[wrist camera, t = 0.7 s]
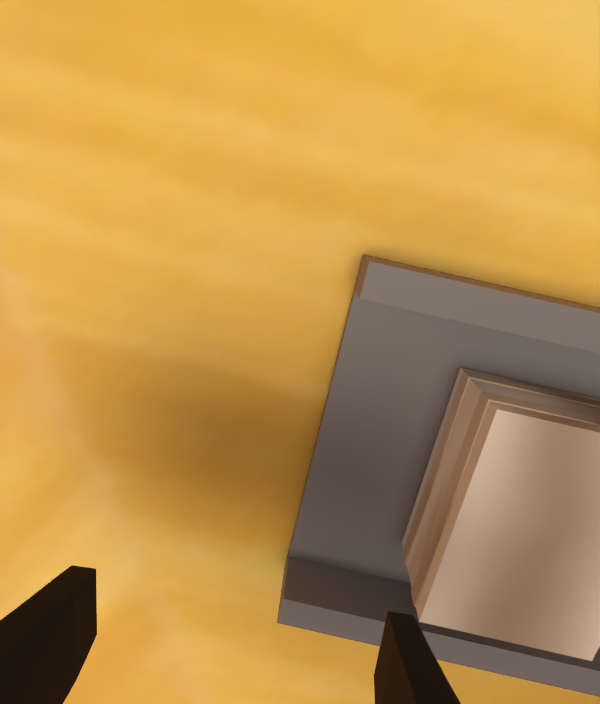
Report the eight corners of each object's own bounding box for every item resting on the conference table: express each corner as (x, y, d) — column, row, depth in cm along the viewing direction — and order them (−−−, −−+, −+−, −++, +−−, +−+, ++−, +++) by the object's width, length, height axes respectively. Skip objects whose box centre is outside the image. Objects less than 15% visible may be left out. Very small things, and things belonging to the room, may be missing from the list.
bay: (919, 379, 17) (1041, 412, 14) (733, 670, 21) (797, 741, 18) (363, 254, 17) (369, 261, 14) (284, 567, 21) (276, 622, 18)
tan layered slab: (618, 401, 17) (702, 454, 13) (540, 575, 19) (592, 662, 16) (459, 365, 17) (495, 407, 13) (400, 543, 19) (417, 622, 16)
